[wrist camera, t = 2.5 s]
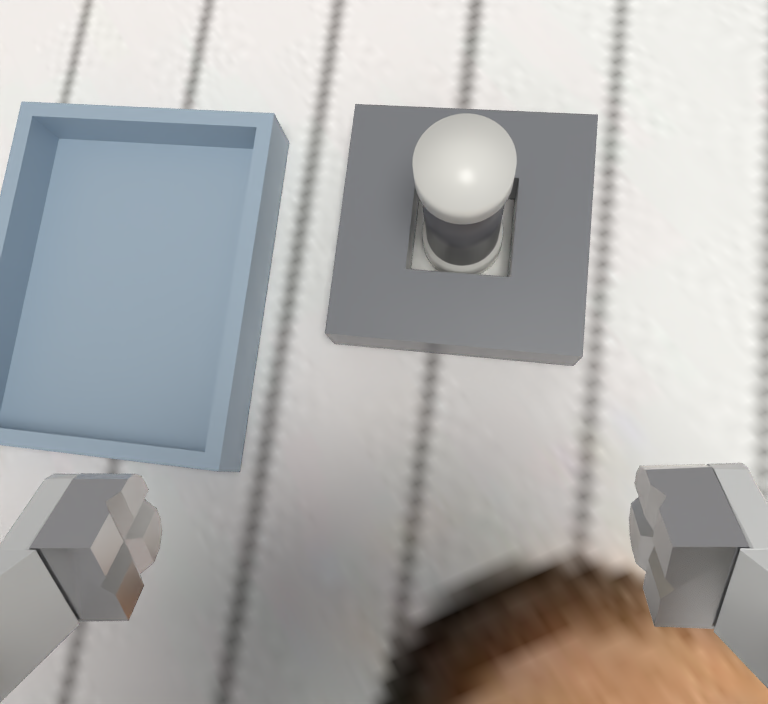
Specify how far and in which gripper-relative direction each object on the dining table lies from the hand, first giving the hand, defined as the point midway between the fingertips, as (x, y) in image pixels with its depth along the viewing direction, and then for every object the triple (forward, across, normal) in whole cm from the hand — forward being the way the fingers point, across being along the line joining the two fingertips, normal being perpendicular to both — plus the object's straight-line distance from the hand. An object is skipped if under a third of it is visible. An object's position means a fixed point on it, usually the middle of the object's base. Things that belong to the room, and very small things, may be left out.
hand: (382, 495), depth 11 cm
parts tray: (+23, +16, +8) cm, 29 cm away
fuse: (+24, -2, +7) cm, 25 cm away
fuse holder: (+24, -2, +7) cm, 25 cm away
